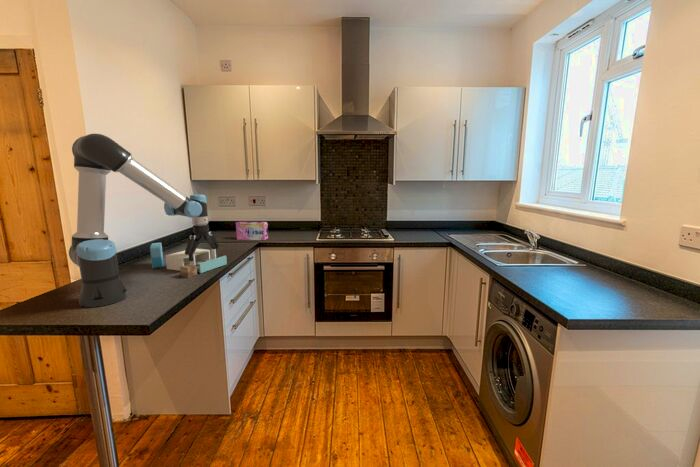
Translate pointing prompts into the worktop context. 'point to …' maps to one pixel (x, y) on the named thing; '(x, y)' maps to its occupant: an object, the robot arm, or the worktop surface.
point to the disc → (200, 262)
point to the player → (185, 258)
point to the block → (188, 270)
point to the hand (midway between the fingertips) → (204, 263)
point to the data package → (156, 255)
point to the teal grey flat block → (211, 264)
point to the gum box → (252, 230)
